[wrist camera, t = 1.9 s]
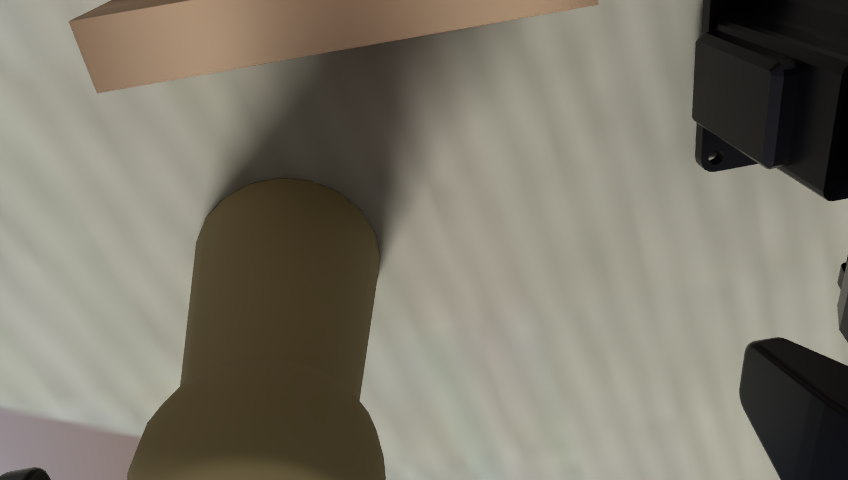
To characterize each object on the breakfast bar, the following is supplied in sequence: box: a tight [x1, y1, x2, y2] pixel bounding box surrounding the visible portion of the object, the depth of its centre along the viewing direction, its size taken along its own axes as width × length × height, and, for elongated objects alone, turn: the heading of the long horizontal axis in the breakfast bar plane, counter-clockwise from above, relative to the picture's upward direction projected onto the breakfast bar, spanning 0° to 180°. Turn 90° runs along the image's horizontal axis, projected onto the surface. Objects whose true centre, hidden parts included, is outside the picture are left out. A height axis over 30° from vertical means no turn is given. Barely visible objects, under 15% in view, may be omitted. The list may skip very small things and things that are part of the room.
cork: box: [127, 178, 386, 480], centre depth 17 cm, size 6×6×11 cm
